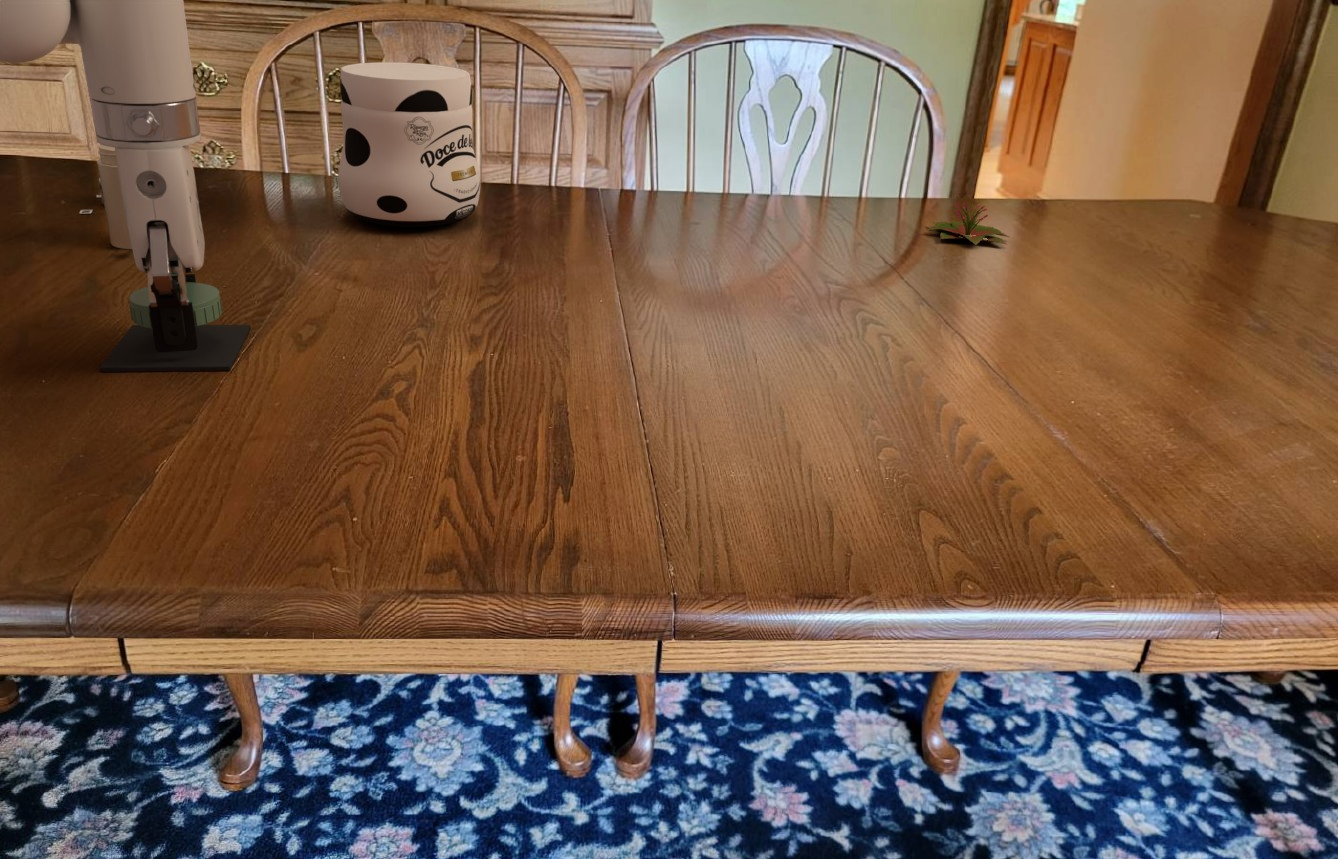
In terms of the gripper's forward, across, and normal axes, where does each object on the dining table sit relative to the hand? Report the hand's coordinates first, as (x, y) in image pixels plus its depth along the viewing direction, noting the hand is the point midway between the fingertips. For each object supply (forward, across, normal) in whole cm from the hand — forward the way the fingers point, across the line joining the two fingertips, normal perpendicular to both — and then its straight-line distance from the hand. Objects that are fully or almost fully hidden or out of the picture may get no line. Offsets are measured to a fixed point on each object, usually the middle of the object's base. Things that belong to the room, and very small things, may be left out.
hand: (179, 332), depth 90 cm
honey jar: (+2, +34, +5) cm, 35 cm away
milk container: (+2, +41, -25) cm, 48 cm away
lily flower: (+2, +23, -97) cm, 100 cm away
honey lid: (-3, 0, 0) cm, 3 cm away
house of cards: (+2, +52, +10) cm, 54 cm away
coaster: (+2, 0, 0) cm, 2 cm away
